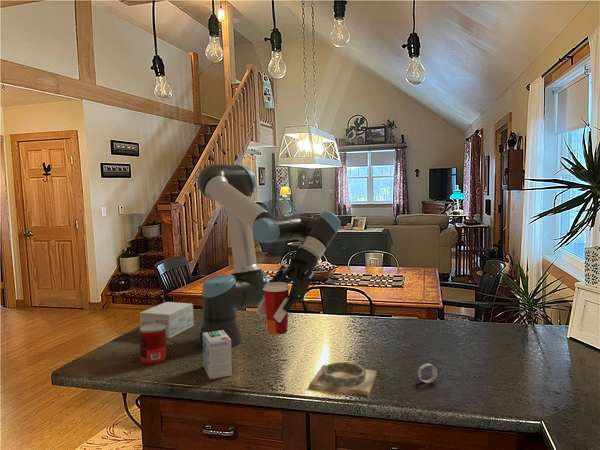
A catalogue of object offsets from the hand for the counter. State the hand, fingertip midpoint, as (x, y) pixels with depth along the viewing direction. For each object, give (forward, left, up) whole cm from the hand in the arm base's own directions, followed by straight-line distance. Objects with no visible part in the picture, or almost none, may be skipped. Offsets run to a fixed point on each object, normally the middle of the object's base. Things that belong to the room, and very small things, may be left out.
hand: (267, 316), depth 126 cm
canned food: (-41, +2, -18) cm, 44 cm away
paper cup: (+2, +3, -5) cm, 6 cm away
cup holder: (+21, +3, -18) cm, 28 cm away
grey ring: (+43, +9, -18) cm, 48 cm away
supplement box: (-56, +31, -18) cm, 66 cm away
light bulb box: (-17, 0, -18) cm, 24 cm away
